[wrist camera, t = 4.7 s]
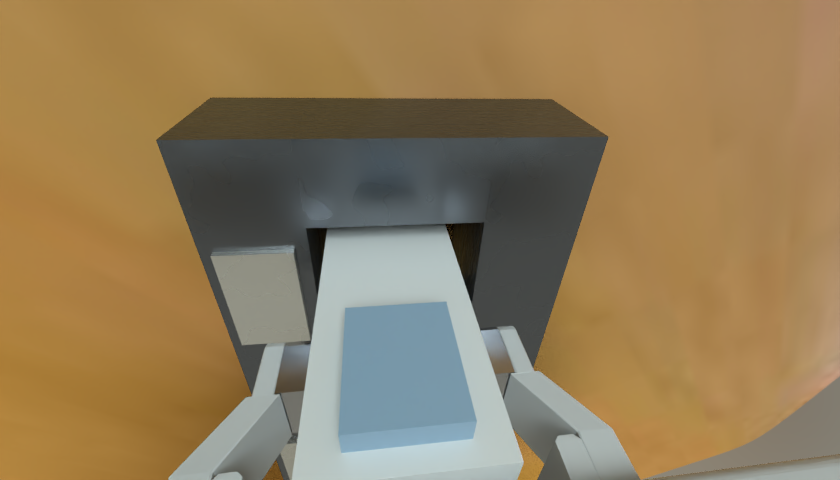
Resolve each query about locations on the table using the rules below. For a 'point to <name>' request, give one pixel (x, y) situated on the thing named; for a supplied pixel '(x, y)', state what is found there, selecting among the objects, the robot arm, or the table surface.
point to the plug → (399, 366)
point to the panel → (378, 201)
